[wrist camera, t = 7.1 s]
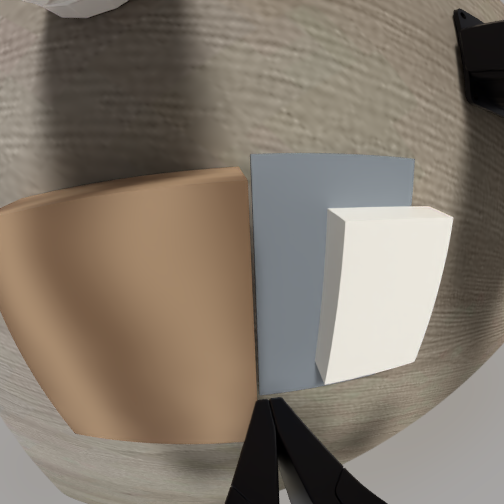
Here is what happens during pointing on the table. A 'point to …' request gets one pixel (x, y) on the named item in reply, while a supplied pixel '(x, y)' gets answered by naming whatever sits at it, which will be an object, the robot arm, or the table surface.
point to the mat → (306, 248)
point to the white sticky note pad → (378, 287)
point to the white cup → (78, 7)
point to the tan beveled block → (137, 304)
